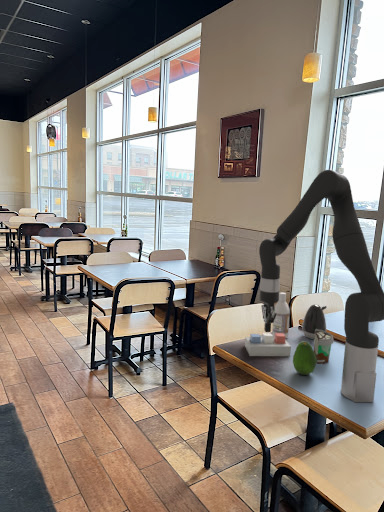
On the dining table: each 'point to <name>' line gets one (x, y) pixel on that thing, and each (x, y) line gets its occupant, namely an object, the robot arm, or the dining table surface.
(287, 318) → the bath foam
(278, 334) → the red key
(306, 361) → the avocado
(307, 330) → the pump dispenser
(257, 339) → the blue key
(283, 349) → the button panel
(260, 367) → the dining table surface
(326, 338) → the food container
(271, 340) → the white key
